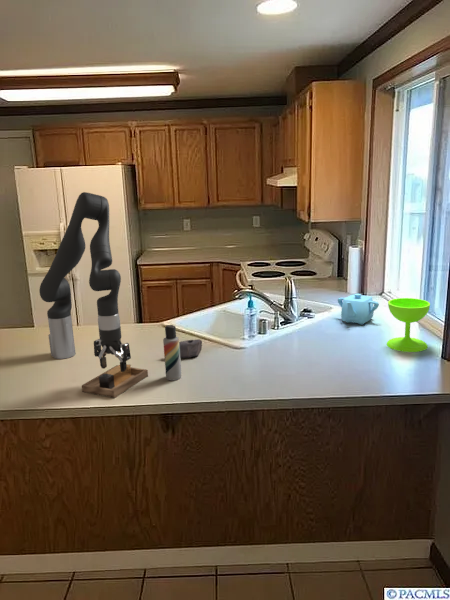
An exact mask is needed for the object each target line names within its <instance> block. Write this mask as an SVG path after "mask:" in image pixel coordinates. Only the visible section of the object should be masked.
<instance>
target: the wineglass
mask: <svg viewBox="0 0 450 600" xmlns="http://www.w3.org/2000/svg"><path fill="white" fill-rule="evenodd" d="M387 304H388V305H387V307H388V310H389V312H390V314H391V315H392V316H393V317H394V318H395V319H396V320H398V321H399V322H402V323H405V324H404V325H405V327H404V329H405V330H404V336H401V337H393V338H390V339H389V340H388V341H387V342H386V346H387V347H388V348H389V349H391V350H394V351H398V352H404V353H417V352H423V351H425V350H427V349H428V348H429V347H428V344H427V342H425V341H424V340H422V339H419V338H415V337H411V336H410V335H411V323H417V322H419V321H421V320H422V319H423V318H424V317H425V316H427V314H428V313H429V310H430V306H431V303H430V302H429V301H427V300H425V299H420V298H413V297H401V298H399V297H398V298H392V299H390V300H388V302H387Z"/></svg>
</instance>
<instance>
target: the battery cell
mask: <svg viewBox="0 0 450 600" xmlns="http://www.w3.org/2000/svg"><path fill="white" fill-rule="evenodd" d="M117 365H118V366H116V365H115V366H116V367H115V366H114V367H115V368H113V367H112V368H113V369H111V368H110V369H111V370H109V369H108V370H109V371H108V370H107V371H108V372H106V371H105V372H106V373H104V372H103V373H104V374H102V373H101V374H102V375H101V374H100V375H101V376H99V375H98V376H99V383H100V387H102V388H108V389H112V388H114V387H115V386H117V385H118V384H120V383H122V382H123V381H125V380H126V379H128V378H129V377H131V364H127V363H126V365H127V369H126V370H125V371H124V372H121V370H120V364H117Z"/></svg>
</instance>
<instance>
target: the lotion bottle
mask: <svg viewBox="0 0 450 600" xmlns="http://www.w3.org/2000/svg"><path fill="white" fill-rule="evenodd" d="M176 330H177V329H176V326H175V325H174V324H166V325H165V327H164V332H165V337H163V339H162V340H163V342H162V343H163V352H164V353H163V354H164V355H163V357H164V364H165V365H164V367H165V368H164V369H165V379H166V380H168V381H178V380H180V379H182V376H183V375H182V374H183V373H182V364H181V363H182V361H181V360H182V358H180V345H179V342H180V338H179V337H178V336H177V331H176Z"/></svg>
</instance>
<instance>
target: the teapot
mask: <svg viewBox="0 0 450 600" xmlns="http://www.w3.org/2000/svg"><path fill="white" fill-rule="evenodd" d="M337 303H338V304H339V306H340V308H341V315H340V316H341V321H342V322H345V323H346V324H351V323H354V324H355V323H356V324H358V325H360V326H363V325H365V323H367V322H369V321H370V320H372V319H373V318H374V314H375V313H374V311H376V310H377V309H378V307H380V303H379V302H378V301H374V299H373V296H370V295H363V294H361V293H355V294H350V295H349V296H346V297H339V298H337Z"/></svg>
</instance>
